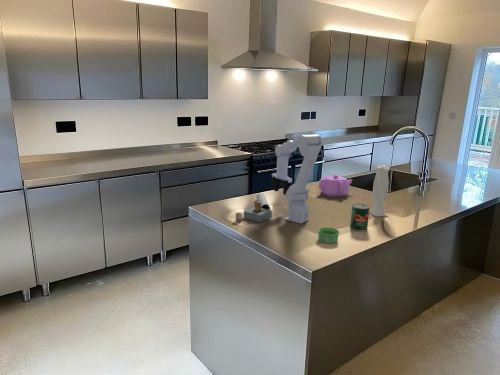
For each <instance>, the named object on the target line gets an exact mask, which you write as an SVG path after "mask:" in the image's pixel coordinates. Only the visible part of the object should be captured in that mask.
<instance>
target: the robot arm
mask: <svg viewBox="0 0 500 375" xmlns="http://www.w3.org/2000/svg"><path fill="white" fill-rule="evenodd" d="M322 146H323V142H322V137H321V135H320V134H318V133H317V134H299V135H297V136H296V138H295V139H294V140H293V139H287V140H286V141H285V142H283V143H282V144H277V145H276V146H275V149H274V150H275V151H274V152H275V155H276V172H273V173H271V178H270V181H271V182H272V186H273V189H274V192H279V190H280V185H281V184H282V193H283V195H284V196H285V198H286V201H287V202H288V216H286V217H285V218H284V220H286V221H290V222H293V223H297V224H303V223H305V222H307V221H309V219H310V218H309V211H310V207H309V205H308V204H307V203H306V201H307V200H308V198H309V192H310V190H309V187H308V186H307V185H308V182H309V180H310V177H311V175H312V172H313V170H314V167H315V165H316V161H317V159H318V156H319V153H320V151H321V148H322ZM297 148H298V149H299V152H300V156H302V157H303V160H302V163H301V166H300V169H299V172H298V174H297V177H296V180H295V182H294V183H293V178H291V177H289V175H288V172H289V171H288V170H289V169H288V166H289V159H290V155H291V154H292V153H293V152H295V151H296V150H297ZM281 180H282V181H281ZM280 183H281V184H280Z"/></svg>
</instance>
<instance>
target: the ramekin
mask: <svg viewBox="0 0 500 375" xmlns="http://www.w3.org/2000/svg"><path fill="white" fill-rule="evenodd" d="M317 232H318V236H317V237H318V240H319V241H320V242H321V243H323V244H326V245H327V244H330V245H331V244H335V243H337V242H338V241H339V235H340V231H339V230H338V229H337V228H333V227H328V226H324V227H320V228H318V229H317Z"/></svg>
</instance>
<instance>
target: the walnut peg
mask: <svg viewBox="0 0 500 375" xmlns="http://www.w3.org/2000/svg"><path fill="white" fill-rule="evenodd" d="M254 207H255V211H254V212H257V213H260V212H261V202H259V201H257V200H256V201H254Z"/></svg>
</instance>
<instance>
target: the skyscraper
mask: <svg viewBox="0 0 500 375" xmlns="http://www.w3.org/2000/svg"><path fill="white" fill-rule="evenodd" d="M375 169H376V173H375V176H374V180H373V186H372V204H373V206H372V208H371V211H369V215H371V214H372V216H373V217H374V216H375V217H374V218H387V217H389V215H388V214H386V213H385V209H384V205H385V202H386V200H387V199H386V198H387V196H388V192H389V171H390V169H391V165H390V163H387V164H386V165H381V164H377V165H376V166H375Z"/></svg>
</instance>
